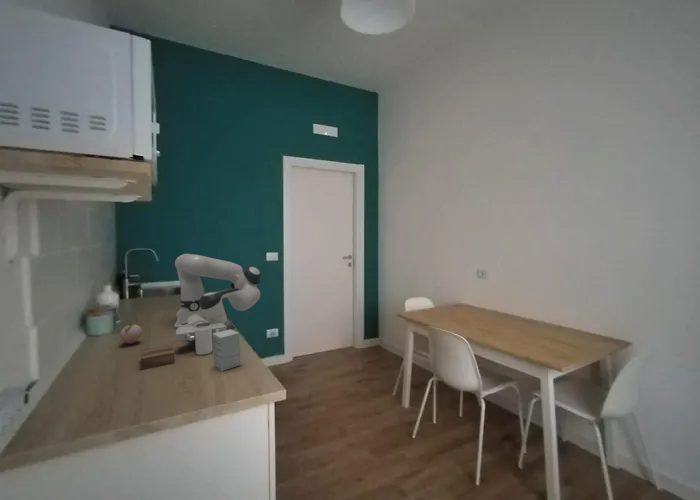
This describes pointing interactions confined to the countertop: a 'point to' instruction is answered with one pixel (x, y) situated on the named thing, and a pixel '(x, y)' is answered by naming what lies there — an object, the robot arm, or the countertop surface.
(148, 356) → the walnut base
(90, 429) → the countertop surface
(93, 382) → the countertop surface
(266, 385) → the countertop surface
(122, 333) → the decorative fruit
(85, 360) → the countertop surface
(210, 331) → the can
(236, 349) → the supplement box
